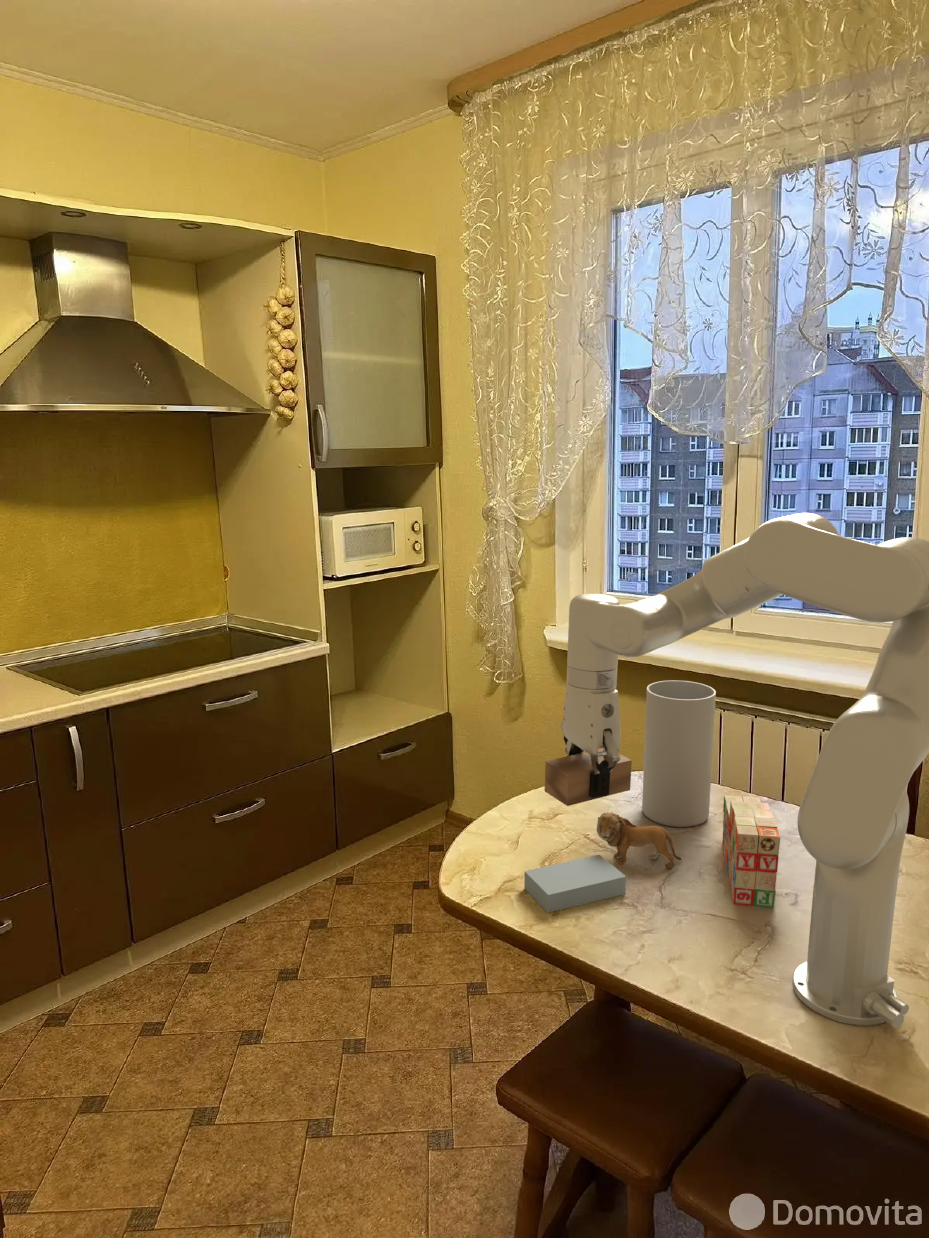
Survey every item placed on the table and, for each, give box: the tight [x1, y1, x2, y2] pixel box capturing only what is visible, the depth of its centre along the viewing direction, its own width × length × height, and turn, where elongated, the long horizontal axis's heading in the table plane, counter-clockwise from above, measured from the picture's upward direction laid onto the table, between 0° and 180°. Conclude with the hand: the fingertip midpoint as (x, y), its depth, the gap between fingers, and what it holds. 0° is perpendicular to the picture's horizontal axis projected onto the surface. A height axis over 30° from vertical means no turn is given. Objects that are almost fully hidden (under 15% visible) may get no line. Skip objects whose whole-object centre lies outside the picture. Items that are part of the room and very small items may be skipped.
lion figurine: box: [596, 812, 682, 870], centre depth 148 cm, size 15×5×9 cm, turn 89°
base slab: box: [524, 854, 627, 913], centre depth 139 cm, size 8×14×3 cm, turn 113°
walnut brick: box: [544, 748, 633, 807], centre depth 134 cm, size 6×12×5 cm, turn 119°
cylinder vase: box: [641, 679, 717, 828], centre depth 165 cm, size 12×12×25 cm
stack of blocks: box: [722, 794, 781, 909], centre depth 144 cm, size 21×6×12 cm, turn 169°
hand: (586, 786), depth 135 cm, fingers closed on walnut brick, 6 cm apart
